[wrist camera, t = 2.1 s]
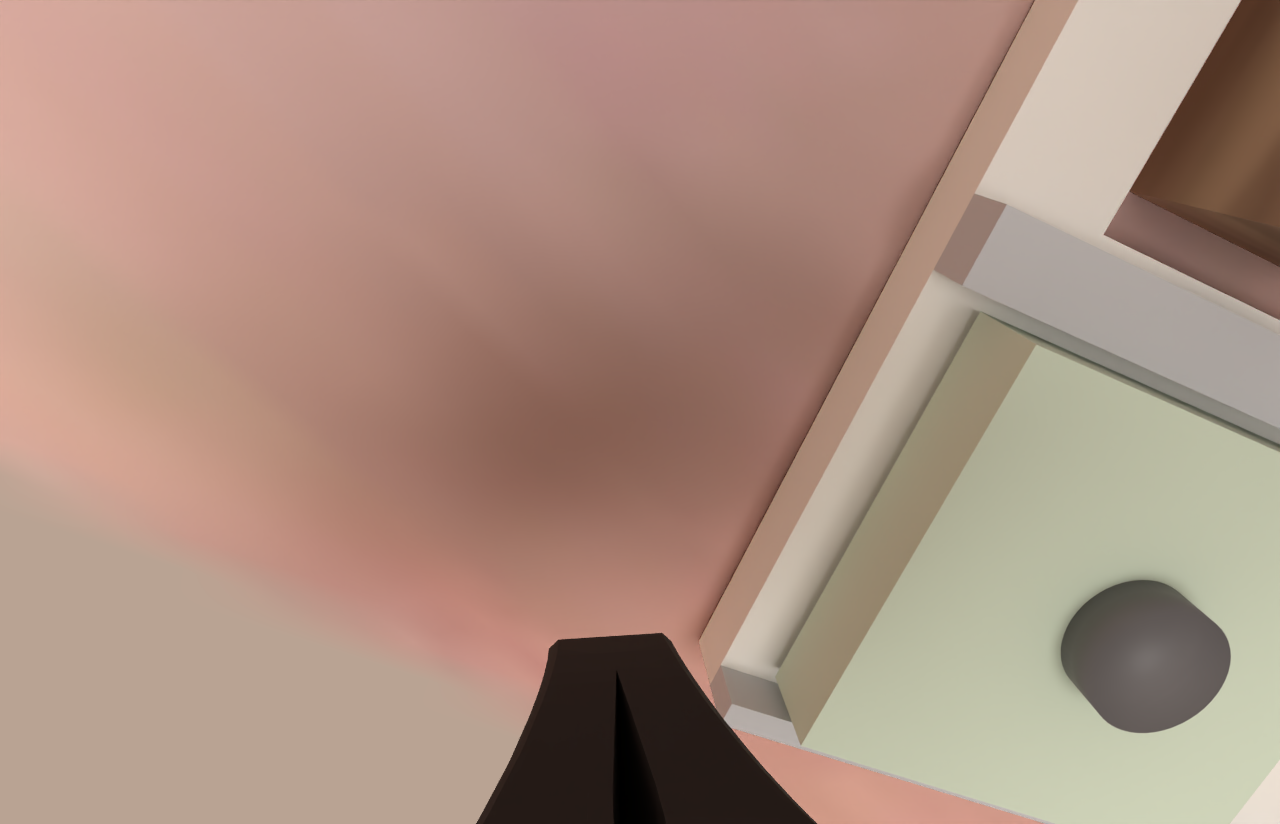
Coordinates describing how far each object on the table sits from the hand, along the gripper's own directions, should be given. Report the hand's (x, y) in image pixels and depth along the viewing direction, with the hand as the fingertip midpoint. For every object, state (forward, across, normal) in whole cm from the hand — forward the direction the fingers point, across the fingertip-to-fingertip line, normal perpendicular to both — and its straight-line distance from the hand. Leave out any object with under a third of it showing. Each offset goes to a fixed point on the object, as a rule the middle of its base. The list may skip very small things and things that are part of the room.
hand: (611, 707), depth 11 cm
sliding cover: (+6, -9, +2) cm, 11 cm away
